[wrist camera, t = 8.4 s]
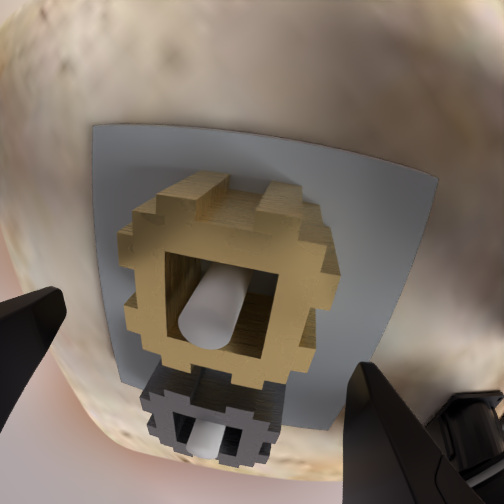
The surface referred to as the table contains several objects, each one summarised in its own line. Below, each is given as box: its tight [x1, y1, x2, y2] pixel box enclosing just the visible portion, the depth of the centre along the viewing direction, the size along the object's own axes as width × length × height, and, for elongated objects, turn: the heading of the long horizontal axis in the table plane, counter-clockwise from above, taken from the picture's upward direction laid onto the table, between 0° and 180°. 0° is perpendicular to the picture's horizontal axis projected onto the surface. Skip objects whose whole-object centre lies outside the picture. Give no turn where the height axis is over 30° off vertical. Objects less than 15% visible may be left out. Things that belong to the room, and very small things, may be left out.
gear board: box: [92, 124, 439, 459], centre depth 13 cm, size 15×17×6 cm
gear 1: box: [117, 170, 341, 390], centre depth 11 cm, size 7×7×4 cm
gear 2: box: [140, 358, 286, 468], centre depth 15 cm, size 7×7×4 cm
